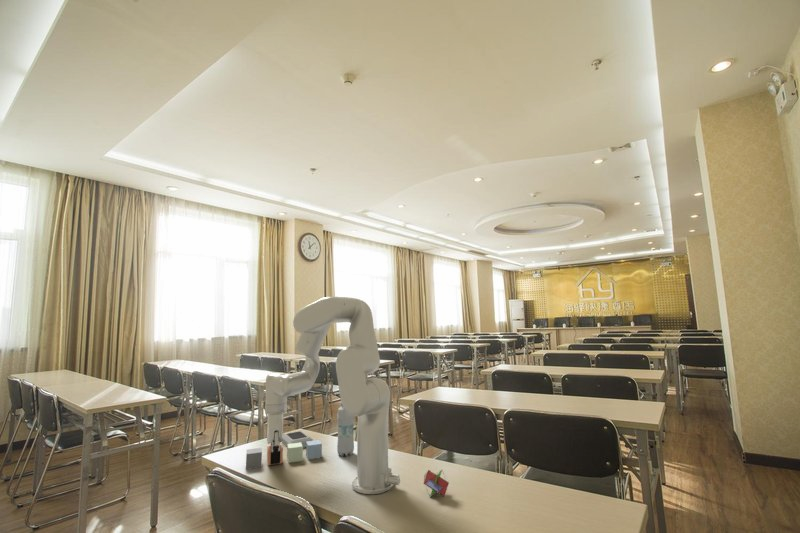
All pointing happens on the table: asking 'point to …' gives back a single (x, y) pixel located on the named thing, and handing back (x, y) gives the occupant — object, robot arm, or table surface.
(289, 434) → the gray dark-screened device
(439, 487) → the geometric puzzle
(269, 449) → the terracotta block
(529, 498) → the table surface
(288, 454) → the sage-green block
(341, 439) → the bottle
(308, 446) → the slate-blue block
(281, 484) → the table surface
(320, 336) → the robot arm
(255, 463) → the gray block
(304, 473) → the table surface
